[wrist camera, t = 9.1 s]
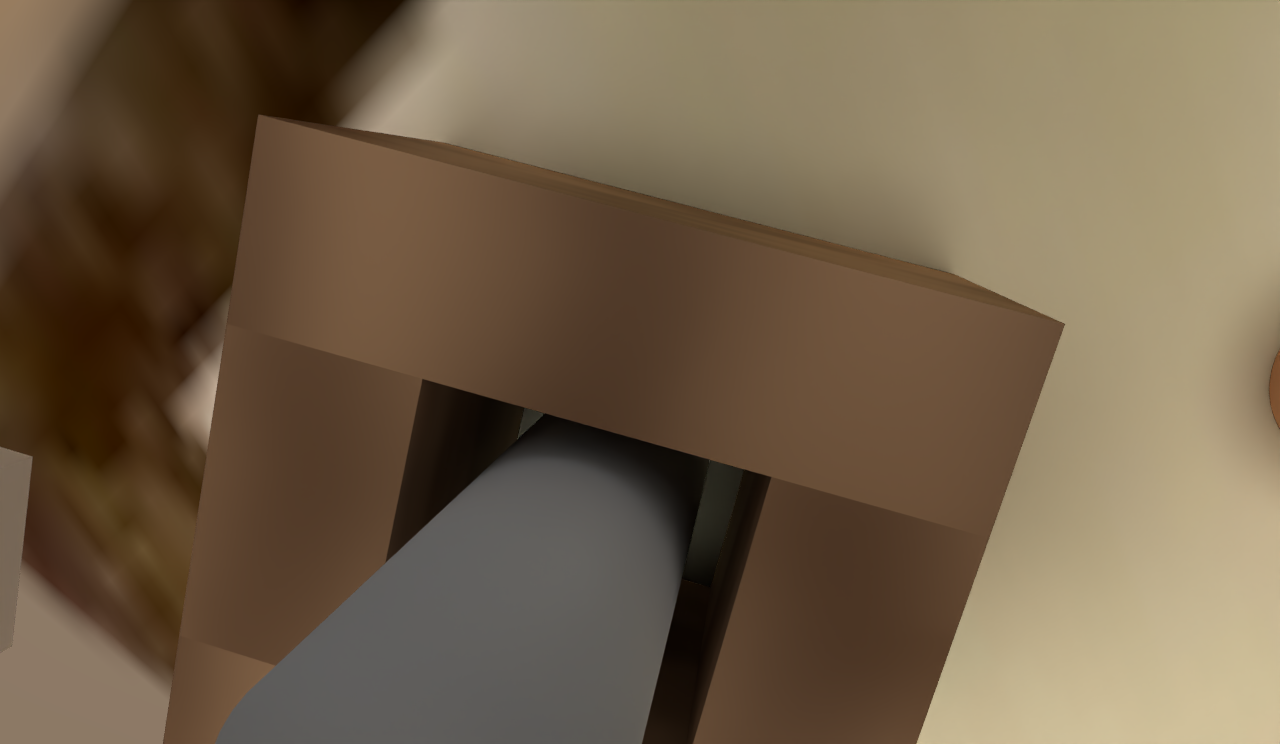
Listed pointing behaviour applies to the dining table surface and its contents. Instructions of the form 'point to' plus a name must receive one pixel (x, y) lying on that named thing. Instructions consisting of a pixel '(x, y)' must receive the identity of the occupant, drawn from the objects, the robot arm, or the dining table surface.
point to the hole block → (601, 421)
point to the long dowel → (504, 609)
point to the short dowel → (1275, 389)
